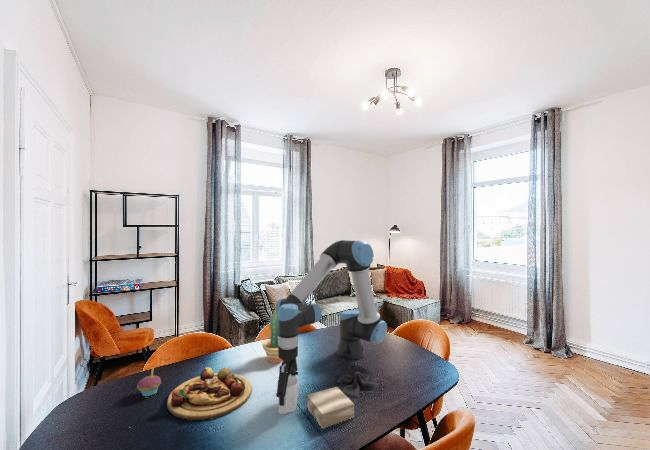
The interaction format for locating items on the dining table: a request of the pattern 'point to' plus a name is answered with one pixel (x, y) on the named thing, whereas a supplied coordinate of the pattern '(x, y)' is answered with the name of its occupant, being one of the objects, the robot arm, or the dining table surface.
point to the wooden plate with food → (209, 395)
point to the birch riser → (330, 406)
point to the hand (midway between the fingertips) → (287, 401)
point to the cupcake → (149, 384)
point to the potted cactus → (273, 341)
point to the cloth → (357, 384)
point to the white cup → (291, 394)
